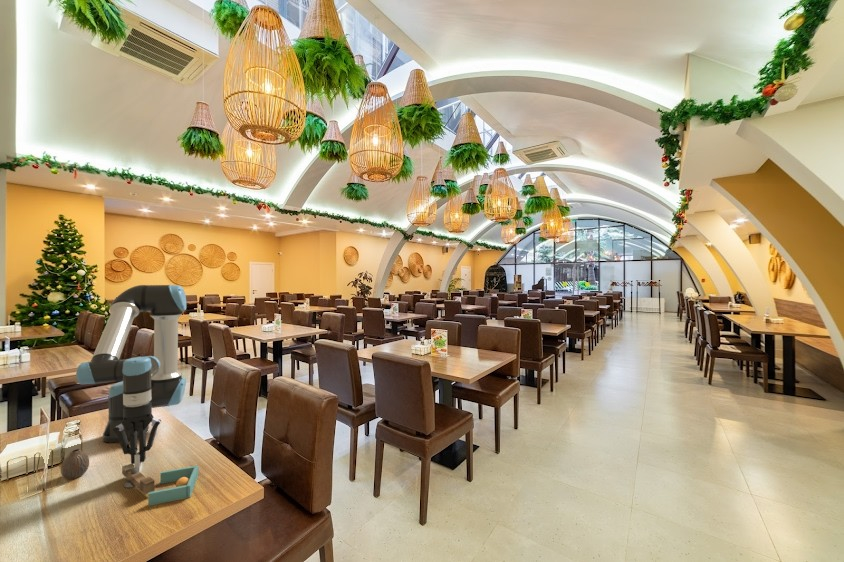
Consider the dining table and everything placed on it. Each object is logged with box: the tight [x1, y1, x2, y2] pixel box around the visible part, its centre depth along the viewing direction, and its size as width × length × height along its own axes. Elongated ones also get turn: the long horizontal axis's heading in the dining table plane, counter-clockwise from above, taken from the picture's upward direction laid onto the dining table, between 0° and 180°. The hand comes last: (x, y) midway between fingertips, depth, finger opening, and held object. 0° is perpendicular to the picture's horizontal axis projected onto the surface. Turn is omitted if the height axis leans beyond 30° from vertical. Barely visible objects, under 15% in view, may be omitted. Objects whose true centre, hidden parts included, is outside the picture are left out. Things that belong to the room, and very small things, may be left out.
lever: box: [121, 462, 155, 495], centre depth 113 cm, size 20×2×4 cm, turn 56°
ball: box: [175, 477, 190, 487], centre depth 111 cm, size 4×4×4 cm
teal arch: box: [147, 465, 199, 506], centre depth 111 cm, size 13×10×4 cm
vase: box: [60, 448, 90, 480], centre depth 118 cm, size 7×7×9 cm
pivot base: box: [123, 480, 137, 489], centre depth 114 cm, size 5×5×1 cm
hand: (138, 471), depth 119 cm, fingers closed
